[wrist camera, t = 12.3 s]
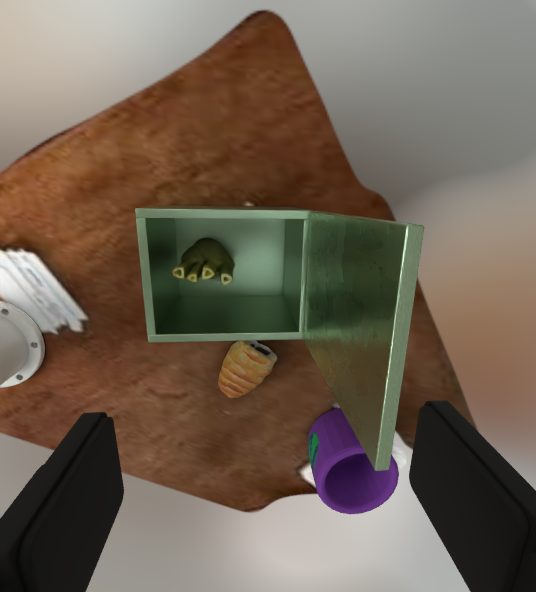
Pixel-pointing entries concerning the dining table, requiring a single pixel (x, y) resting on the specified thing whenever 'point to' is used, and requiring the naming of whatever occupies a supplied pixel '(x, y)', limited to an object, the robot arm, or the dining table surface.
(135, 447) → the dining table surface
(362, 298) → the bin lid
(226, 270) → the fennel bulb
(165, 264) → the trash bin
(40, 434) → the dining table surface
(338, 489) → the mug
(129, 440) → the dining table surface
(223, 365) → the pastry
